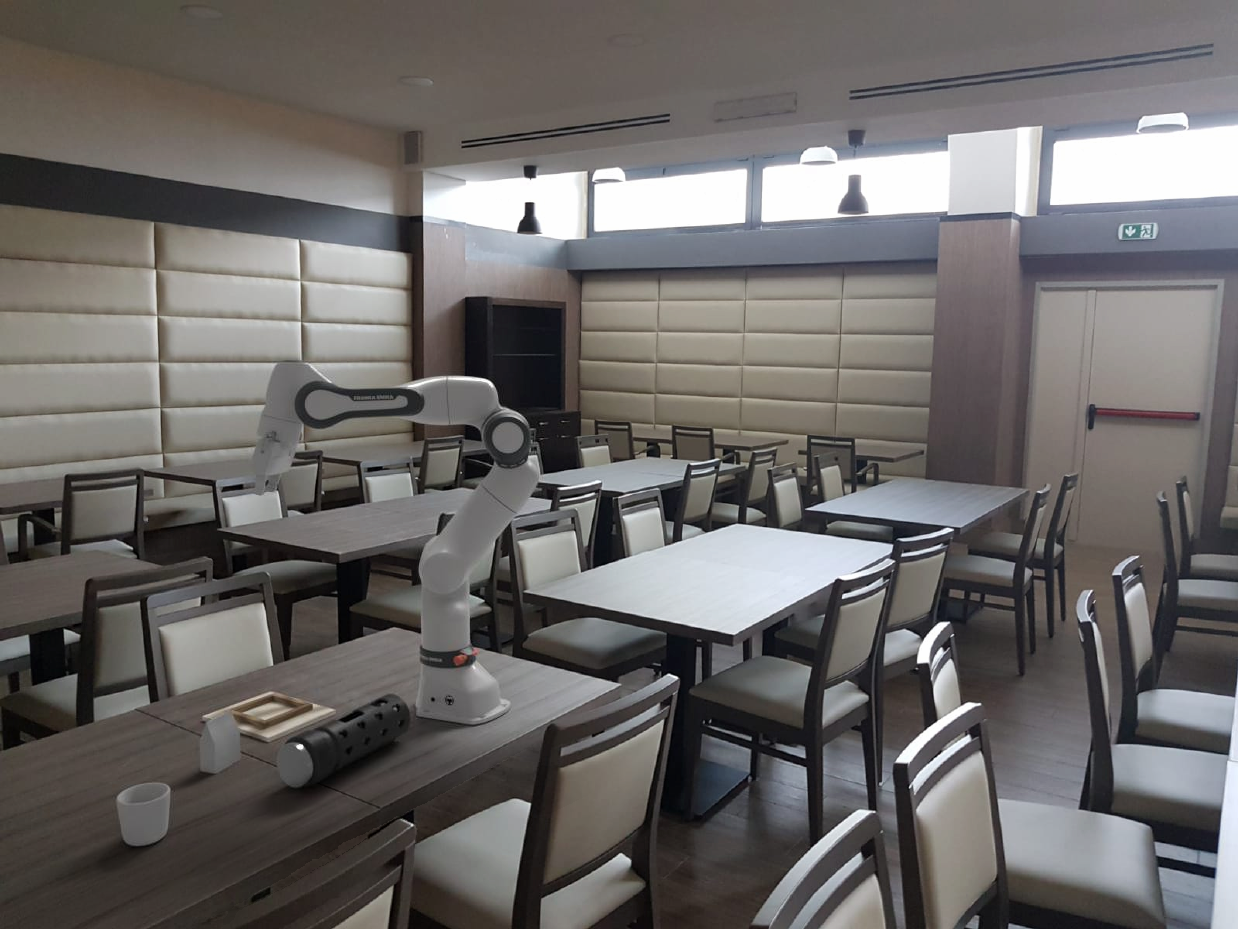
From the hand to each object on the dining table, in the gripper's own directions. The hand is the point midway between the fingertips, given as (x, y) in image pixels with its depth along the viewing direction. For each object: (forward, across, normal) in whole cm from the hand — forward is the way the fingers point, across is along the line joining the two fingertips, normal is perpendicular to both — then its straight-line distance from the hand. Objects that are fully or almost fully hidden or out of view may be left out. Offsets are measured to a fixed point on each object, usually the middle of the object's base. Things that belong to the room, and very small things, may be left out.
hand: (264, 493), depth 199 cm
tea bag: (+52, -22, -9) cm, 57 cm away
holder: (+49, +2, -12) cm, 50 cm away
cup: (+54, -48, -6) cm, 73 cm away
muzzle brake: (+46, -24, -33) cm, 62 cm away
